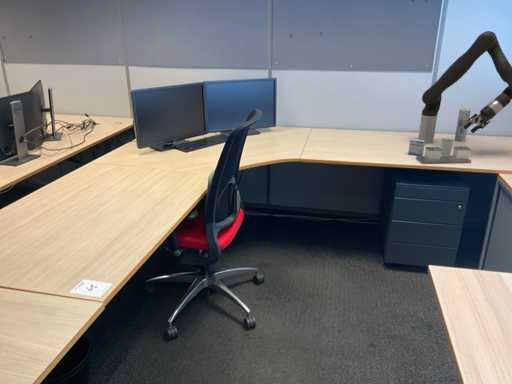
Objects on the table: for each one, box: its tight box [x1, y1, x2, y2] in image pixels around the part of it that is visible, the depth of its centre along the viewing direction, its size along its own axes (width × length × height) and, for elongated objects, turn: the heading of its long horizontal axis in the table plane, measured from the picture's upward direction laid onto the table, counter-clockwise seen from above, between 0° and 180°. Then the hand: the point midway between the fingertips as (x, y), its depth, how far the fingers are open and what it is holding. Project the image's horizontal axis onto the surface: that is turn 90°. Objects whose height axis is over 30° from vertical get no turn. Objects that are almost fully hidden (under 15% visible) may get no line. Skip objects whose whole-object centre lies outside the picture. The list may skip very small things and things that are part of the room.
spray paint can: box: [454, 108, 472, 142], centre depth 273 cm, size 6×6×20 cm
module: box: [440, 137, 454, 156], centre depth 248 cm, size 4×5×9 cm
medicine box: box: [407, 138, 426, 157], centre depth 248 cm, size 8×4×9 cm, turn 62°
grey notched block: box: [415, 146, 472, 165], centre depth 237 cm, size 9×27×8 cm, turn 92°
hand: (467, 130), depth 244 cm, fingers open, 8 cm apart
